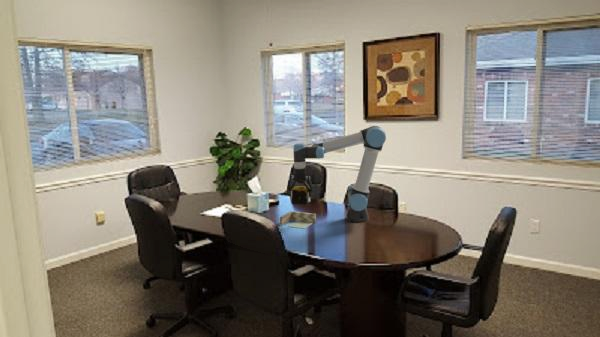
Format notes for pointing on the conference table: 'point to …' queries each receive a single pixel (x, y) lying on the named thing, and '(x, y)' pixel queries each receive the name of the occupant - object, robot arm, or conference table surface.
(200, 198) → the conference table surface
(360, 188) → the robot arm
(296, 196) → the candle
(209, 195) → the conference table surface
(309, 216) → the arena
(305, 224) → the pad
